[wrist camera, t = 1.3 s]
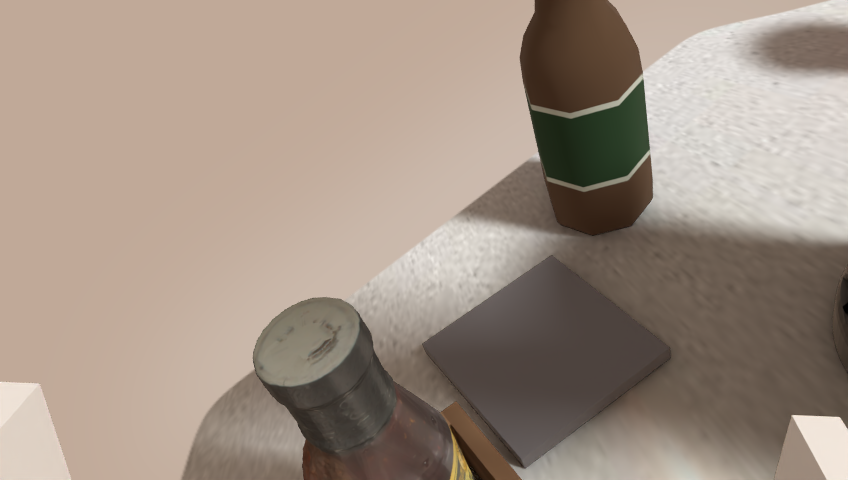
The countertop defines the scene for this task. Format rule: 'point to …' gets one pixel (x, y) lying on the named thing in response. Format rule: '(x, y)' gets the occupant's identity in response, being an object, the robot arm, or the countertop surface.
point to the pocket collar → (477, 446)
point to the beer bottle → (588, 113)
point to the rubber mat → (544, 357)
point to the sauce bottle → (351, 400)
